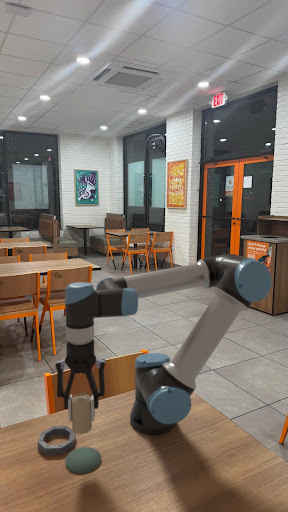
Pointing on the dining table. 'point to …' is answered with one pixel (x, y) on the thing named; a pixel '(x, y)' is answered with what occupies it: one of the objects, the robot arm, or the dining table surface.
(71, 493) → the dining table surface
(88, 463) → the coaster
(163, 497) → the dining table surface
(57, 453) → the holder ring
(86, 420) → the candle
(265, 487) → the dining table surface
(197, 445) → the dining table surface
